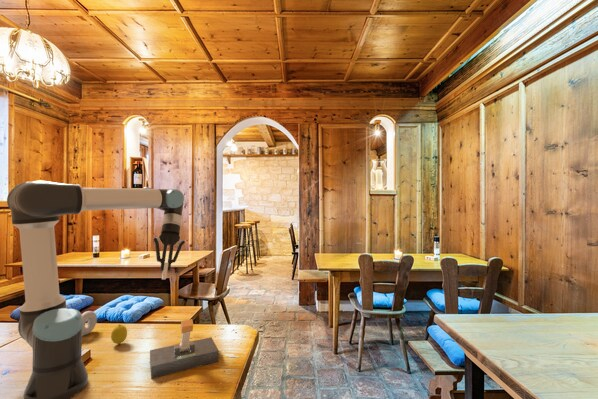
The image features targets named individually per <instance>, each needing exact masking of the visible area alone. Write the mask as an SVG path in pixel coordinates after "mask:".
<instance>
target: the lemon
mask: <svg viewBox="0 0 598 399" xmlns="http://www.w3.org/2000/svg"><path fill="white" fill-rule="evenodd" d="M127 329H128V328H127V327H126V326H125V325H123V324H118V325H116V326H115V327H113V329H112V331H111V336H110V339H111V341H112V343H114V344H116V345H121V344H122V343H123V342H125V340H126V339H127V335H128V330H127Z"/></svg>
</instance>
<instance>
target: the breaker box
mask: <svg viewBox="0 0 598 399" xmlns="http://www.w3.org/2000/svg"><path fill="white" fill-rule="evenodd" d="M180 344H181V342H180V343H175V344H172V345H168V346H164V347H159V348H154V349H150V350H149V365H150V378H151V379H157V378H161V377H164V376H168V375H172V374H176V373H180V372H183V371H187V370H190V369H195V368H198V367H202V366H208V365H210V364H214V363H218V362H219V361H220V360H219V358H220V356H219V348H218V347H217V345H216V343H215V342H214V339H213V337H212V336H211V337H205V338H201V339H200V338H199V339H197V340H192V341H191V340H189V349H186V350H182V351H180Z"/></svg>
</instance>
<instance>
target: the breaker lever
mask: <svg viewBox="0 0 598 399" xmlns="http://www.w3.org/2000/svg"><path fill="white" fill-rule="evenodd" d="M193 329H194V321H193V319H192V318H189V319H186V320H181V321H180V332H181V339H180V343H181V344H180V351H182V350H186V349H189V341H190V337H191V332H193Z"/></svg>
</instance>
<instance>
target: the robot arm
mask: <svg viewBox="0 0 598 399" xmlns="http://www.w3.org/2000/svg"><path fill="white" fill-rule="evenodd" d="M184 201H185V194H184V193H183V192H182V191H181V190H180V189H174V188H170V189H164V188H162V189H161V188H159V189H158V188H152V187H148V186H144V187H143V188H122V187H121V188H120V187H119V188H117V187H115V188H114V187H113V188H112V187H83V186H82V185H81V184H75V183H65V182H64V183H63V182H62V183H61V182H54V181H47V180H34V181H33V180H31V181H24V182H21V183H19V184H17V185H16V186H14V187H13V188H12V189H11V190H10V191H9V192H8V194H7V197H6V204H7V207H8V208H9V210H10V214H11V225H12V226H14V227H15V228H17V230H19V240H20V251H21V252H20V253H21V262H22V264H21V265H22V276H23V289H24V299H25V301H24V303H23V304H22V305H21V306H20V307H19V316H20V317H19V321H18V324H17V329H18V330H17V331H18V333H19V336H20V337H21V338H22V339H23V340H24V341H26V343H27V344H28V345H29V346H30V347H31V348H32V368H31V369H32V371H31V375H30V378H29V380H28V382H27V385H26V387H25V390H24V392H23V399H70V398H72V397H74V396H76V395H77V394H79V393H81V392H82V391H83V390H84V389H85V388H86V386H87V385H88V382H89V378H88V377H89V375H88V371H87V369H86V366H85V364H84V362H83V359H82V344H83V343H82V342H83V340H82V339H83V336H82V325H83V322H82V321H83V320H82V315H81V314H82V313H81V312H80V310H78V309H76V308H68V307H67V299H66V297H65V296H63V295H61V294H60V285H59V284H60V283H59V271H58V259H57V258H58V257H57V245H56V233H55V227H56V224H57V223H59V222H60V216H66V215H80V214H81V213H82V212H84V211H85V212H86V211H109V210H112V211H113V210H135V209H136V210H138V209H139V210H140V209H157V210H161V211H163V219H162V225H161V231H160V234H159V236H158V237H154V238H153V239H152V240H153V241H152V242H153V244H154V247H155V248H154V249H155V256H156V257H155V258H156V261H157V262H159V263H160V268H159V269H160V270H159V271H161V272H162V274H161V280H166V279H167V276H168V272H170V271H171V269H172V268H171V267H172V264H173V263H176V261H177V259H178V257H179V254H180V252H181V249H182V247H183V245H184V244H185V243H186V242H185V240H182V239H181V237H180V231H181V224H182V215H183V208H184ZM160 242H161V243H162V245H163V248H162V252H161V249H160ZM176 244H178V246H177V249H176V251H175V254H174V256H173V253H174V246H175V245H176ZM168 246H169V252H168V258H167V262H166V256H167V250H168ZM161 253H162V254H161Z"/></svg>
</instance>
